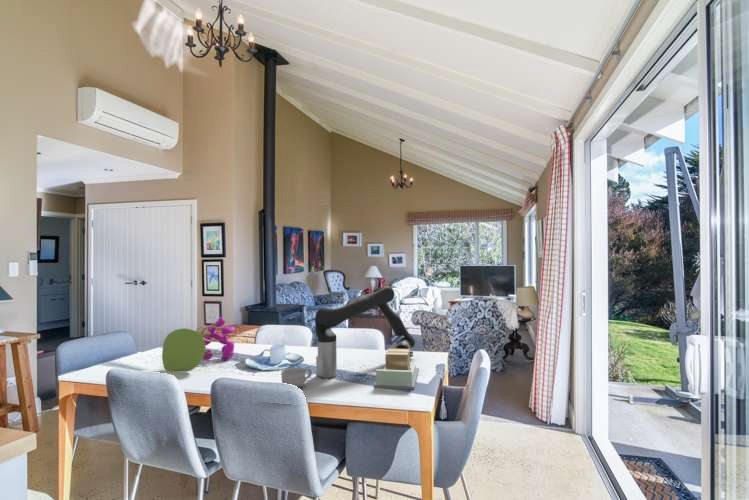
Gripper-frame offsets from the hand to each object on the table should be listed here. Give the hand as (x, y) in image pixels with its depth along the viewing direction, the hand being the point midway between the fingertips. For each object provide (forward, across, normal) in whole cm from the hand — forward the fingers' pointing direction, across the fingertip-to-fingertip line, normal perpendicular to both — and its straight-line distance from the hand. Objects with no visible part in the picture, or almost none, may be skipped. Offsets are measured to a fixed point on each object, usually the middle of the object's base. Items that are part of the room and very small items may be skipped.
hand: (399, 357), depth 213 cm
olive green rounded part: (-7, -111, +8) cm, 111 cm away
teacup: (+26, -44, +8) cm, 52 cm away
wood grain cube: (+6, 0, +6) cm, 9 cm away
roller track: (+8, 0, +8) cm, 11 cm away
